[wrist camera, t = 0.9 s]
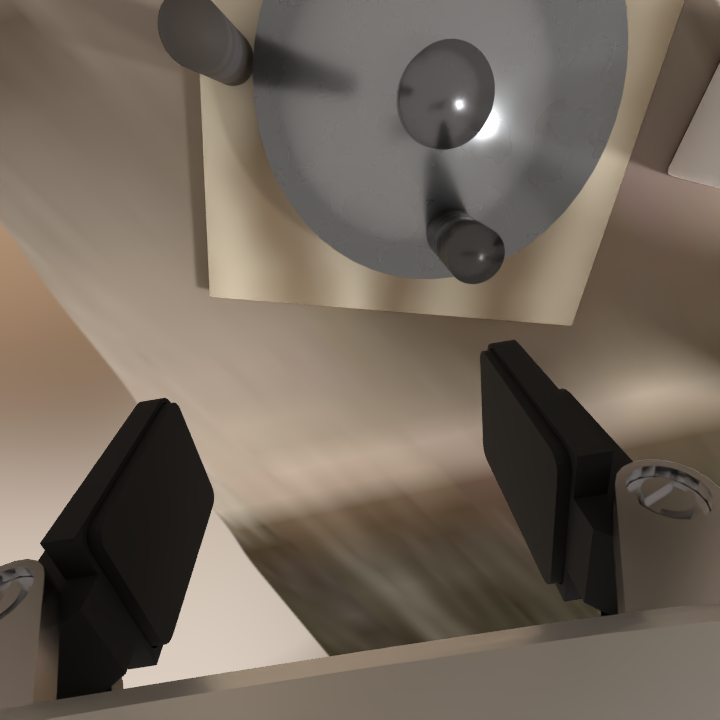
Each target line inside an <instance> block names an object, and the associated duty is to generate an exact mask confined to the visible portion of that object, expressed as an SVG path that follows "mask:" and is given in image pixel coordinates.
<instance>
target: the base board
mask: <svg viewBox="0 0 720 720" xmlns="http://www.w3.org/2000/svg"><path fill="white" fill-rule="evenodd" d="M625 1H626V6H627V20H628V35H629V39H628V59H627V70H626V77H625V83H624V89H623V95H622V99H621V103H620V106H619V110H618V114H617V118H616V121H615V124H614V127H613V129H612V132H611V135H610V137H609V140H608V142H607V145H606V147H605V149H604V151H603V153H602V155H601V157H600V159H599V161H598V163H597V165H596V167H595V169H594V171H593V173H592V174H591V176H590V178H589V179H588V181H587V182H586V184H585V185H584V187H583V189H582V190H581V192H580V193H579V194H578V196H577V197H576V198H575V199H574V201H573V202H572V203H571V204H570V206H569V207H568V208H567V209H566V211H565V212H564V213H563V214H562V215H561V216H560V217H559V218H558V219H557V220H556V221H555V222H554V223H553V224H552V225H551V226H550V227H549V228H548V229H547V230H546V231H545V232H543V233H542V234H541V235H540V236H539V237H537V238H536V239H535V240H534V241H533V242H531V243H530V244H528V245H527V246H525V247H524V248H522V249H521V250H519V251H518V252H516V253H515V254H513V255H512V256H510V257H508V258H506V259H504V261H503V263H502V266H501V267H500V269H499V270H498V272H497V273H496V274H495V275H494V276H493V277H492V278H490V279H489V280H487V281H485V282H482V283H479V284H466V283H463V282H461V281H459V280H458V279H456V278H455V277H449V278H439V279H410V278H404V277H397V276H392V275H388V274H385V273H381V272H378V271H374V270H372V269H369V268H367V267H365V266H363V265H360V264H358V263H356V262H354V261H352V260H350V259H349V258H347V257H345V256H344V255H342V254H340V253H339V252H337V251H336V250H334V249H333V248H332V247H331V246H329V245H328V244H327V243H326V242H324V241H323V240H322V239H321V238H319V237H318V236H317V235H316V234H315V233H314V232H313V231H312V230H311V228H310V227H309V226H308V225H307V224H306V223H305V222H304V221H303V220H302V219H301V217H300V216H299V215H298V213H297V212H296V211H295V209H294V208H293V207H292V205H291V204H290V203H289V201H288V199H287V198H286V196H285V194H284V192H283V191H282V189H281V187H280V186H279V184H278V182H277V180H276V178H275V176H274V173H273V171H272V168H271V166H270V164H269V161H268V159H267V157H266V153H265V150H264V147H263V143H262V140H261V136H260V133H259V129H258V123H257V117H256V111H255V105H254V93H253V75H252V72H253V54H254V41H255V35H256V29H257V24H258V18H259V12H260V9H261V5H262V2H263V0H164V2H163V3H162V5H161V8H160V10H159V15H158V30H159V35H160V38H161V41H162V43H163V45H164V47H165V49H166V51H167V52H168V53H169V55H170V56H171V57H172V58H173V59H174V60H175V61H176V62H177V63H179V64H180V65H182V66H184V67H186V68H188V69H191V70H193V71H195V72H198V73H200V92H201V115H202V137H203V159H204V181H205V203H206V225H207V247H208V269H209V291H210V297H219V298H232V299H244V300H257V301H269V302H281V303H294V304H306V305H319V306H331V307H344V308H356V309H369V310H381V311H394V312H406V313H418V314H431V315H443V316H456V317H468V318H481V319H493V320H506V321H518V322H530V323H543V324H555V325H568V326H572V324H573V321H574V318H575V315H576V312H577V309H578V306H579V303H580V301H581V298H582V295H583V292H584V289H585V286H586V283H587V280H588V277H589V275H590V272H591V269H592V266H593V263H594V260H595V257H596V254H597V252H598V249H599V246H600V243H601V240H602V237H603V234H604V231H605V228H606V226H607V223H608V220H609V217H610V214H611V211H612V208H613V205H614V203H615V200H616V197H617V194H618V191H619V188H620V185H621V182H622V180H623V177H624V174H625V171H626V168H627V165H628V162H629V159H630V156H631V154H632V151H633V148H634V145H635V142H636V139H637V136H638V133H639V131H640V128H641V125H642V122H643V119H644V116H645V113H646V110H647V107H648V105H649V102H650V99H651V96H652V93H653V90H654V87H655V84H656V82H657V79H658V76H659V73H660V70H661V67H662V64H663V61H664V58H665V56H666V53H667V50H668V47H669V44H670V41H671V38H672V35H673V33H674V30H675V27H676V24H677V21H678V18H679V15H680V12H681V10H682V7H683V4H684V1H685V0H625Z"/></svg>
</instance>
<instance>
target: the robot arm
mask: <svg viewBox="0 0 720 720" xmlns="http://www.w3.org/2000/svg"><path fill="white" fill-rule="evenodd" d="M480 364H481V393H482V422H483V446H484V452H485V456H486V459H487V461H488V463H489V465H490V467H491V469H492V472H493V474H494V476H495V478H496V480H497V482H498V484H499V486H500V488H501V490H502V493H503V495H504V497H505V499H506V501H507V503H508V505H509V507H510V509H511V511H512V514H513V516H514V518H515V520H516V522H517V524H518V526H519V528H520V530H521V532H522V535H523V537H524V539H525V541H526V543H527V545H528V547H529V549H530V551H531V553H532V556H533V558H534V560H535V562H536V564H537V566H538V568H539V570H540V572H541V574H542V577H543V578H544V580H545V582H546V583H547V584H554V583H555V584H556V586H557V588H558V590H559V592H560V594H561V596H562V598H563V600H564V601H570V600H577V599H583V601H584V602H585V603H587V604H588V605H590V606H592V607H594V608H596V609H597V617H594V618H586V619H578V620H571V621H563V622H556V623H550V624H543V625H536V626H530V627H523V628H516V629H509V630H503V631H496V632H489V633H483V634H476V635H469V636H462V637H456V638H449V639H442V640H436V641H429V642H422V643H416V644H409V645H402V646H396V647H389V648H383V649H376V650H370V651H363V652H357V653H350V654H344V655H337V656H331V657H325V658H318V659H311V660H305V661H299V662H292V663H286V664H279V665H273V666H266V667H260V668H254V669H247V670H241V671H235V672H228V673H221V674H215V675H208V676H202V677H196V678H190V679H184V680H177V681H171V682H165V683H159V684H153V685H147V686H140V687H134V688H128V689H123V680H122V676H124V674H126V672H127V669H133V668H140V667H146V666H153V665H157V662H158V659H159V656H160V653H161V650H162V647H163V645H164V644H167V643H169V641H170V640H171V638H172V635H173V633H174V630H175V626H176V623H177V620H178V617H179V613H180V610H181V607H182V604H183V600H184V597H185V594H186V591H187V588H188V584H189V581H190V578H191V575H192V571H193V568H194V565H195V562H196V558H197V555H198V552H199V549H200V546H201V542H202V539H203V536H204V533H205V529H206V526H207V523H208V520H209V516H210V513H211V510H212V507H213V503H214V492H213V488H212V486H211V483H210V481H209V478H208V476H207V473H206V471H205V469H204V466H203V464H202V461H201V459H200V456H199V454H198V452H197V449H196V447H195V444H194V442H193V439H192V437H191V434H190V432H189V430H188V427H187V425H186V422H185V420H184V417H183V415H182V413H181V410H180V408H179V406H178V405H177V404H176V403H171V402H170V401H169V400H168V399H166V398H161V399H155V400H149V401H143V402H139V403H138V404H137V405H136V407H135V408H134V410H133V411H132V413H131V414H130V415H129V417H128V418H127V420H126V421H125V423H124V424H123V426H122V427H121V428H120V430H119V431H118V433H117V434H116V435H115V437H114V438H113V440H112V441H111V443H110V444H109V445H108V447H107V448H106V450H105V451H104V453H103V454H102V456H101V457H100V459H99V460H98V461H97V463H96V464H95V465H94V467H93V468H92V470H91V471H90V473H89V474H88V475H87V477H86V478H85V480H84V481H83V483H82V484H81V486H80V487H79V488H78V490H77V491H76V493H75V494H74V495H73V497H72V498H71V500H70V501H69V503H68V504H67V505H66V507H65V508H64V510H63V511H62V513H61V514H60V516H59V517H58V518H57V520H56V521H55V523H54V524H53V526H52V527H51V529H50V530H49V531H48V533H47V534H46V536H45V537H44V538H43V540H42V541H41V543H40V544H41V545H42V547H43V548H44V549H45V551H44V553H43V555H42V556H41V557H40V559H39V560H38V561H36V560H30V559H25V560H18V561H14V562H11V563H9V564H5V565H3V566H0V720H720V488H719V487H718V486H717V485H716V484H714V483H713V482H712V481H711V480H710V479H709V478H707V477H706V476H704V475H702V474H701V473H699V472H697V471H696V470H694V469H691V468H689V467H686V466H683V465H681V464H678V463H673V462H668V461H664V460H640V461H634V462H633V461H632V460H631V459H630V458H629V457H628V456H627V455H626V453H625V452H624V451H623V450H622V449H621V448H620V447H619V446H618V445H617V444H616V443H615V441H614V440H613V439H612V438H611V437H610V436H609V435H608V434H607V433H606V432H605V430H604V429H603V428H602V427H601V426H600V425H599V424H598V423H597V422H596V421H595V420H594V418H593V417H592V416H591V415H590V414H589V413H588V412H587V411H586V410H585V409H584V407H583V406H582V405H581V404H580V403H579V402H578V401H577V400H576V399H575V398H574V397H573V395H572V394H571V393H570V392H568V391H567V390H566V389H558V388H557V387H556V385H555V384H554V383H553V382H552V381H551V380H550V379H549V378H548V376H547V375H546V374H545V373H544V372H543V371H542V370H541V368H540V367H539V366H538V365H537V364H536V363H535V362H534V361H533V359H532V358H531V357H530V356H529V355H528V354H527V353H526V351H525V350H524V349H523V348H522V347H521V346H520V345H519V344H518V342H517V341H515V340H510V341H504V342H498V343H492V344H489V346H488V351H482V352H481V355H480Z"/></svg>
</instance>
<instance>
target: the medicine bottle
mask: <svg viewBox="0 0 720 720" xmlns="http://www.w3.org/2000/svg"><path fill="white" fill-rule="evenodd" d="M668 174H669V175H671V176H673V177H677V178H681V179H684V180H688V181H692V182H696V183H700V184H703V185H707V186H711V187H715V188H719V189H720V63H719V65H718V67H717V69H716V71H715V73H714V75H713V78H712V80H711V82H710V84H709V86H708V88H707V90H706V92H705V94H704V96H703V98H702V100H701V102H700V104H699V106H698V108H697V110H696V113H695V115H694V117H693V119H692V121H691V123H690V125H689V127H688V129H687V131H686V133H685V135H684V137H683V139H682V141H681V143H680V145H679V147H678V150H677V152H676V154H675V156H674V158H673V160H672V162H671V164H670V166H669V168H668Z"/></svg>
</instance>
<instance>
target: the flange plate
mask: <svg viewBox="0 0 720 720" xmlns="http://www.w3.org/2000/svg"><path fill="white" fill-rule="evenodd" d="M628 39H629V35H628V20H627V6H626V1H625V0H263V2H262V5H261V9H260V12H259V18H258V24H257V29H256V35H255V41H254V54H253V72H252V75H253V93H254V105H255V111H256V117H257V123H258V129H259V133H260V136H261V140H262V143H263V147H264V150H265V153H266V157H267V159H268V161H269V164H270V166H271V168H272V171H273V173H274V176H275V178H276V180H277V182H278V184H279V186H280V187H281V189H282V191H283V192H284V194H285V196H286V198H287V199H288V201H289V203H290V204H291V205H292V207H293V208H294V209H295V211H296V212H297V213H298V215H299V216H300V217H301V219H302V220H303V221H304V222H305V223H306V224H307V225H308V226H309V227H310V228H311V230H312V231H313V232H314V233H315V234H316V235H317V236H318V237H319V238H321V239H322V240H323V241H324V242H326V243H327V244H328V245H329V246H331V247H332V248H333V249H334V250H336V251H337V252H339V253H340V254H342V255H344V256H345V257H347V258H349V259H350V260H352V261H354V262H356V263H358V264H360V265H363V266H365V267H367V268H369V269H372V270H374V271H378V272H381V273H385V274H388V275H392V276H397V277H404V278H410V279H439V278H449V277H455V278H456V279H458V280H459V281H461V282H463V283H466V284H479V283H482V282H485V281H487V280H489V279H490V278H492V277H493V276H494V275H495V274H496V273H497V272H498V270H499V269H500V267H501V266H502V263H503V261H504V259H506V258H508V257H510V256H512V255H513V254H515V253H516V252H518V251H519V250H521V249H522V248H524V247H525V246H527V245H528V244H530V243H531V242H533V241H534V240H535V239H536V238H537V237H539V236H540V235H541V234H542V233H543V232H545V231H546V230H547V229H548V228H549V227H550V226H551V225H552V224H553V223H554V222H555V221H556V220H557V219H558V218H559V217H560V216H561V215H562V214H563V213H564V212H565V211H566V209H567V208H568V207H569V206H570V204H571V203H572V202H573V201H574V199H575V198H576V197H577V196H578V194H579V193H580V192H581V190H582V189H583V187H584V185H585V184H586V182H587V181H588V179H589V178H590V176H591V174H592V173H593V171H594V169H595V167H596V165H597V163H598V161H599V159H600V157H601V155H602V153H603V151H604V149H605V147H606V145H607V142H608V140H609V137H610V135H611V132H612V129H613V127H614V124H615V121H616V118H617V114H618V110H619V106H620V103H621V99H622V95H623V89H624V83H625V77H626V70H627V59H628Z"/></svg>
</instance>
